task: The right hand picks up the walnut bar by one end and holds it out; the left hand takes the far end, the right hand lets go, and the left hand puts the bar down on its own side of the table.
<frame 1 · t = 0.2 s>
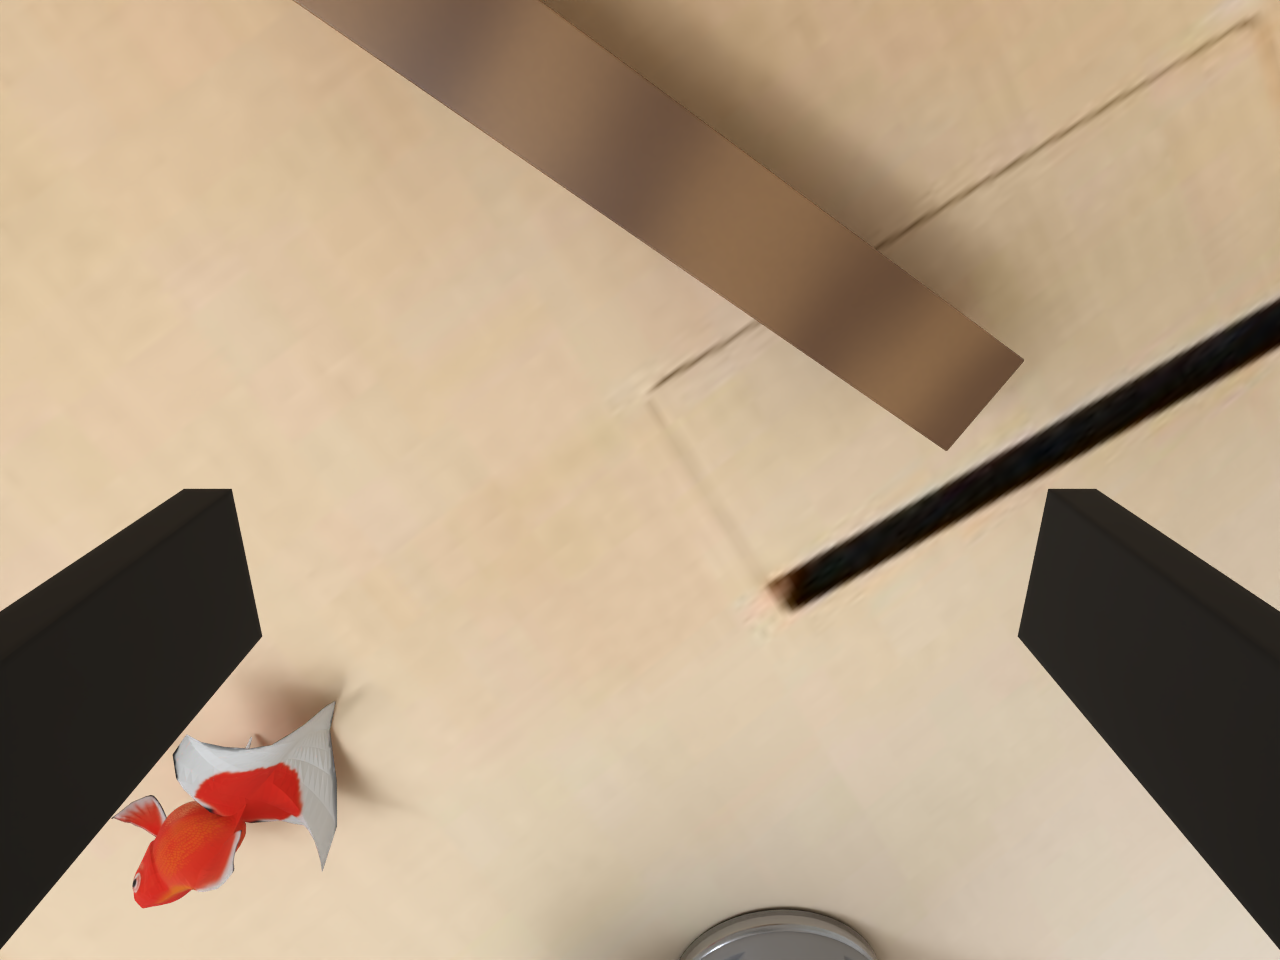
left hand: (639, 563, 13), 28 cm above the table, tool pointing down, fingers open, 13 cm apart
bar: (641, 165, 36), on the table
fish: (265, 752, 49), on the table
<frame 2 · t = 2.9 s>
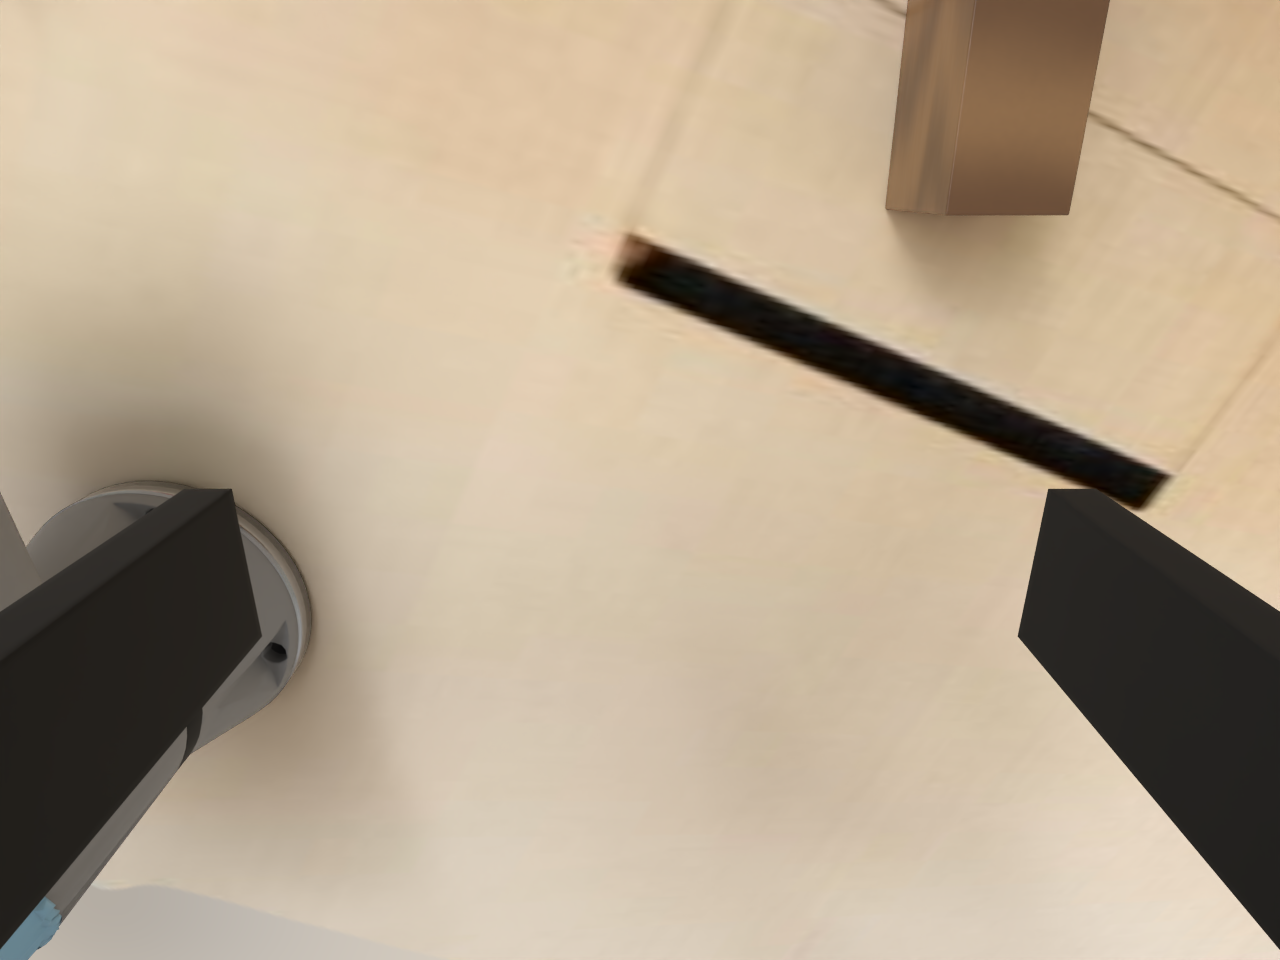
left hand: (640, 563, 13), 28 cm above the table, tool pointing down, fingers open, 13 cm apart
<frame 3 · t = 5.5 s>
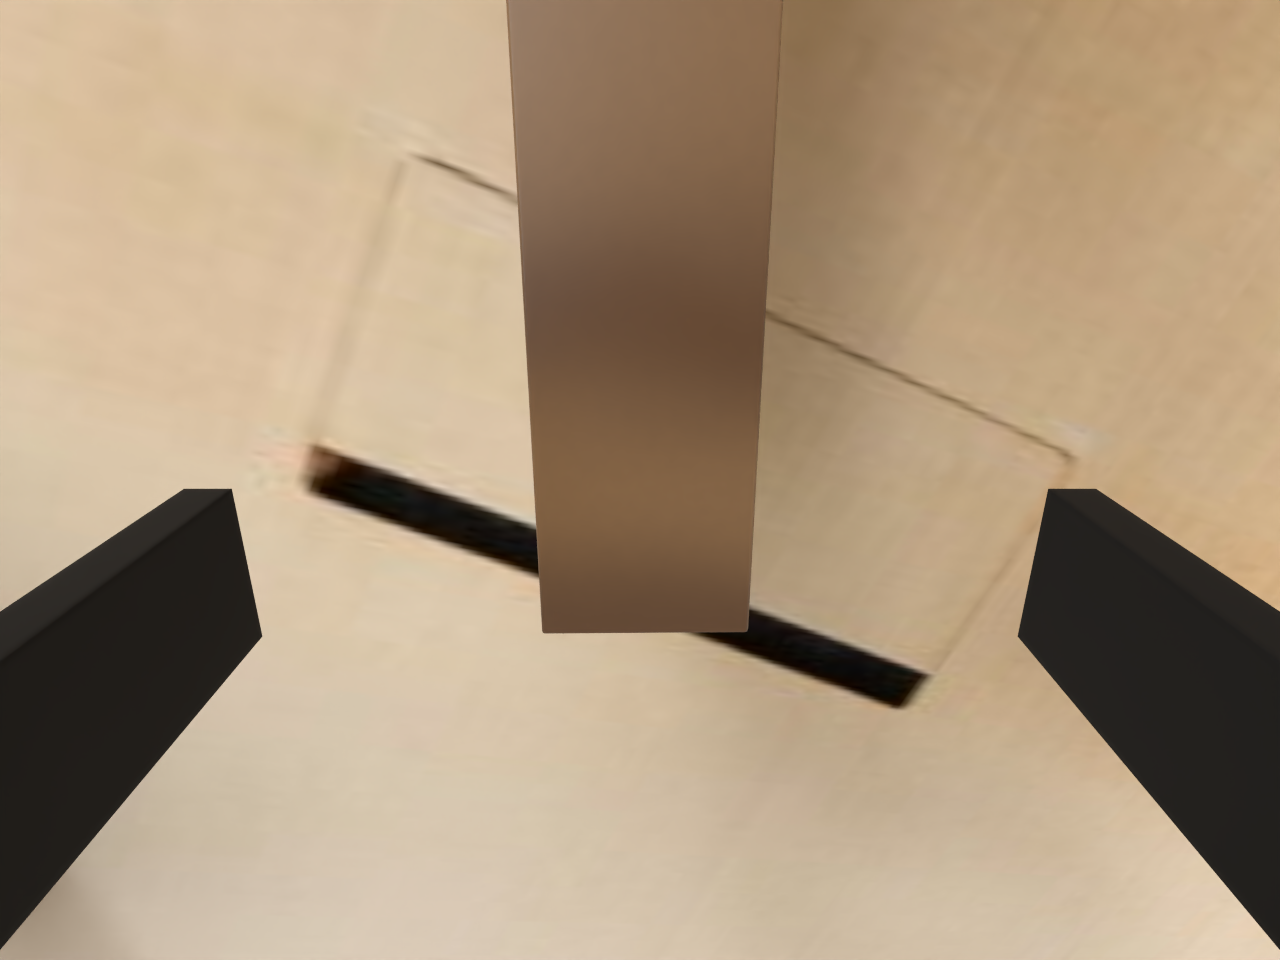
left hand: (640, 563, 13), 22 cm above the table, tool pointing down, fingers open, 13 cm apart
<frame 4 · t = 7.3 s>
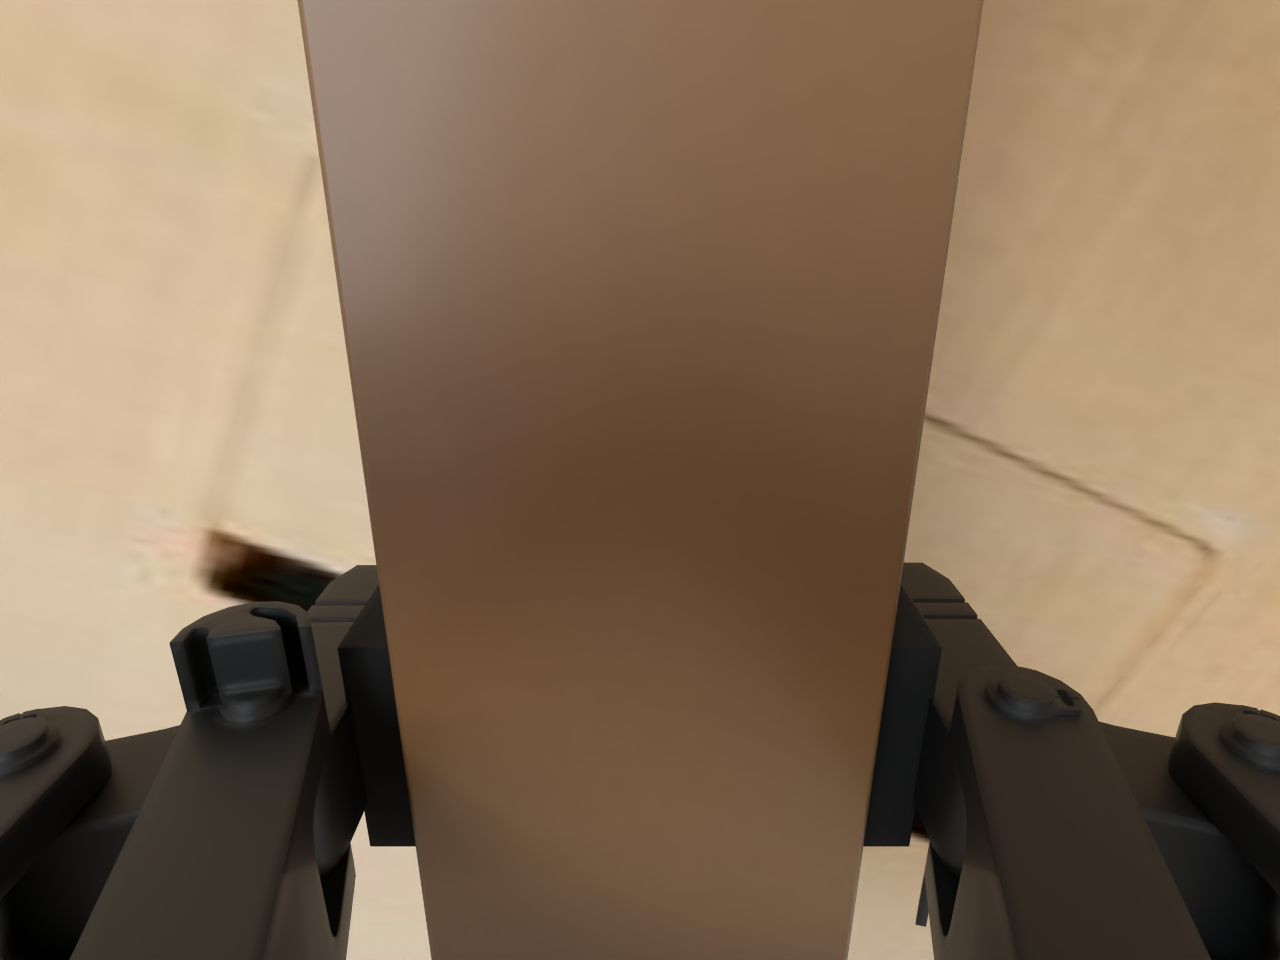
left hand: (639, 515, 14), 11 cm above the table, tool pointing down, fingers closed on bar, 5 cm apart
when the right hand's fingers open (11 cm above the table, at t = 8.1 s): bar stays where it is, held by the left hand.
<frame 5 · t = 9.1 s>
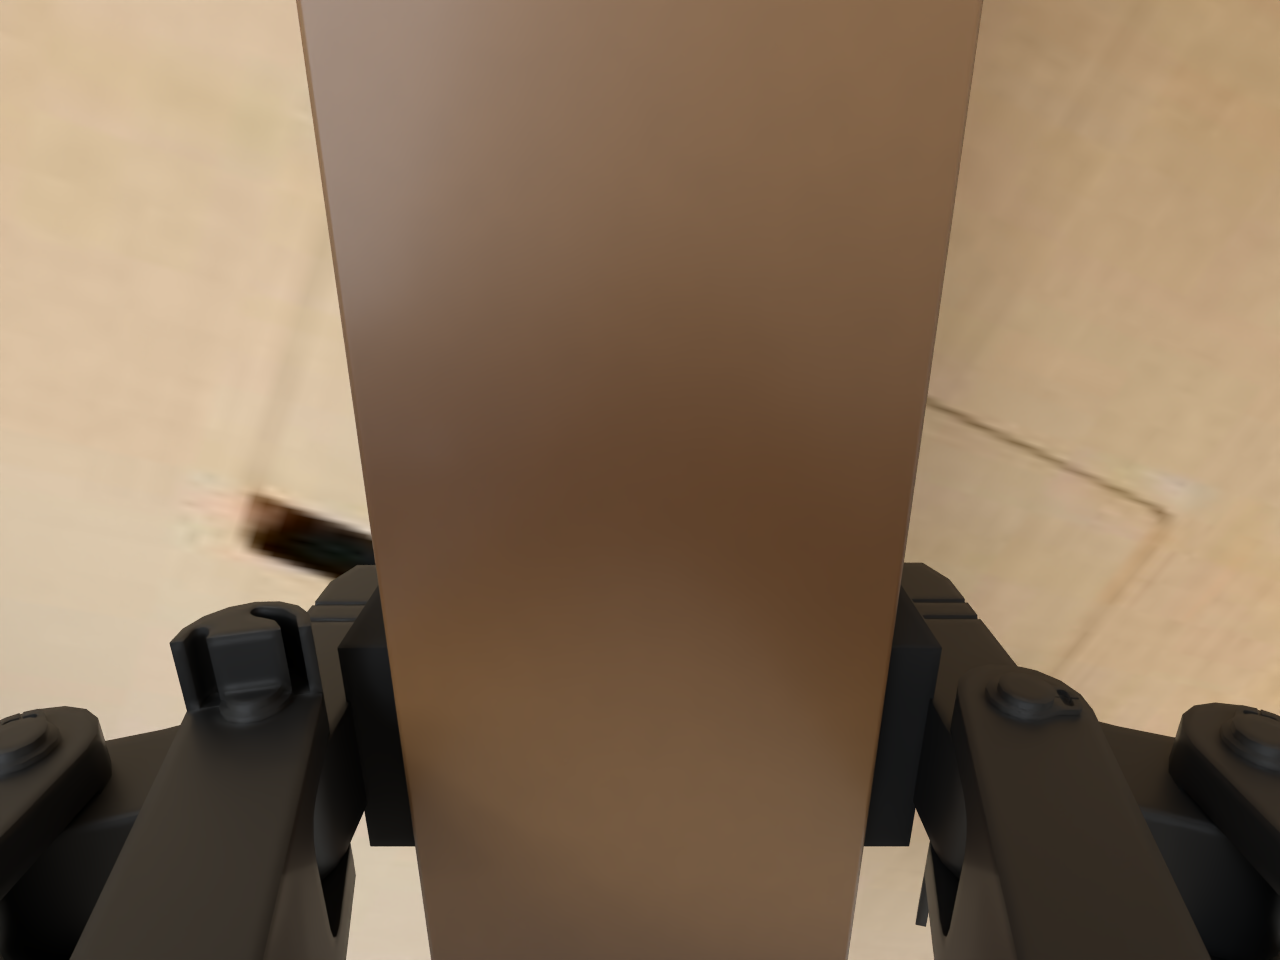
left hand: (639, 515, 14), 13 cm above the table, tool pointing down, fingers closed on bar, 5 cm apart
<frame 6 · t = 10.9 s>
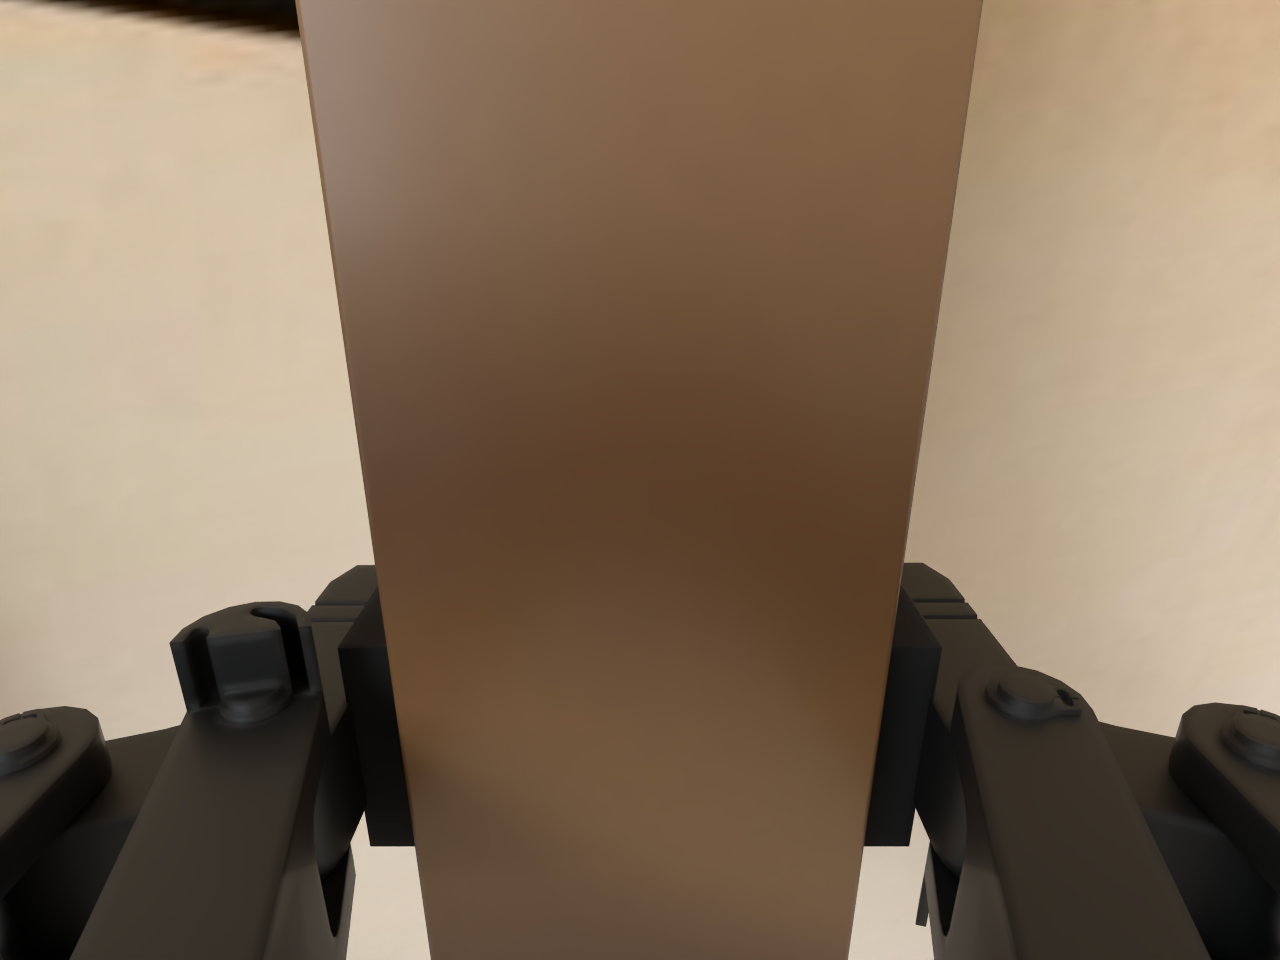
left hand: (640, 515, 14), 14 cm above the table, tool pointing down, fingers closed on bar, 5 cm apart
when the left hand's fingers open (2 cm above the table, at t = 12.4 s): bar drops 2 cm, on the table.
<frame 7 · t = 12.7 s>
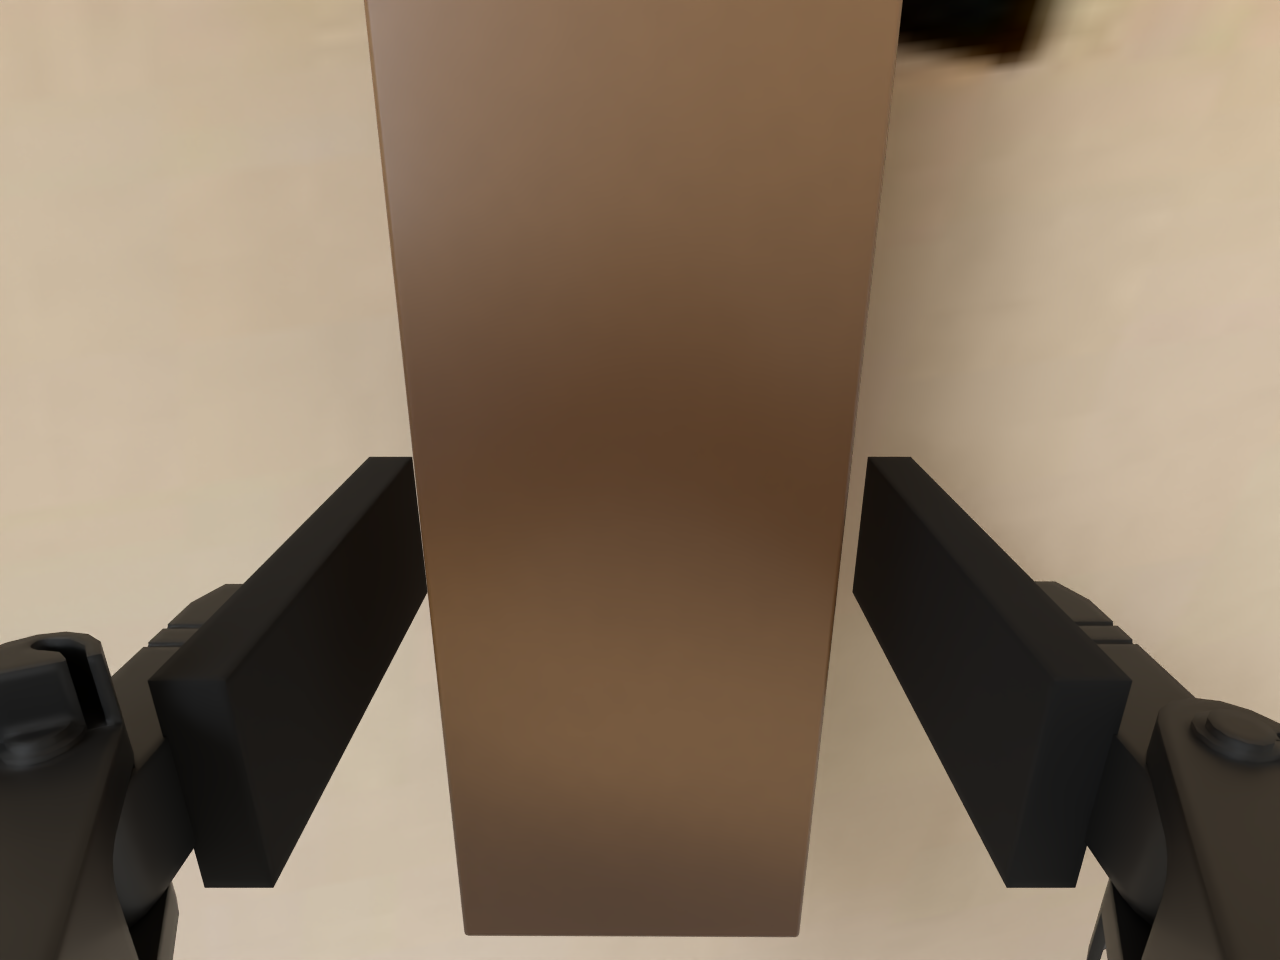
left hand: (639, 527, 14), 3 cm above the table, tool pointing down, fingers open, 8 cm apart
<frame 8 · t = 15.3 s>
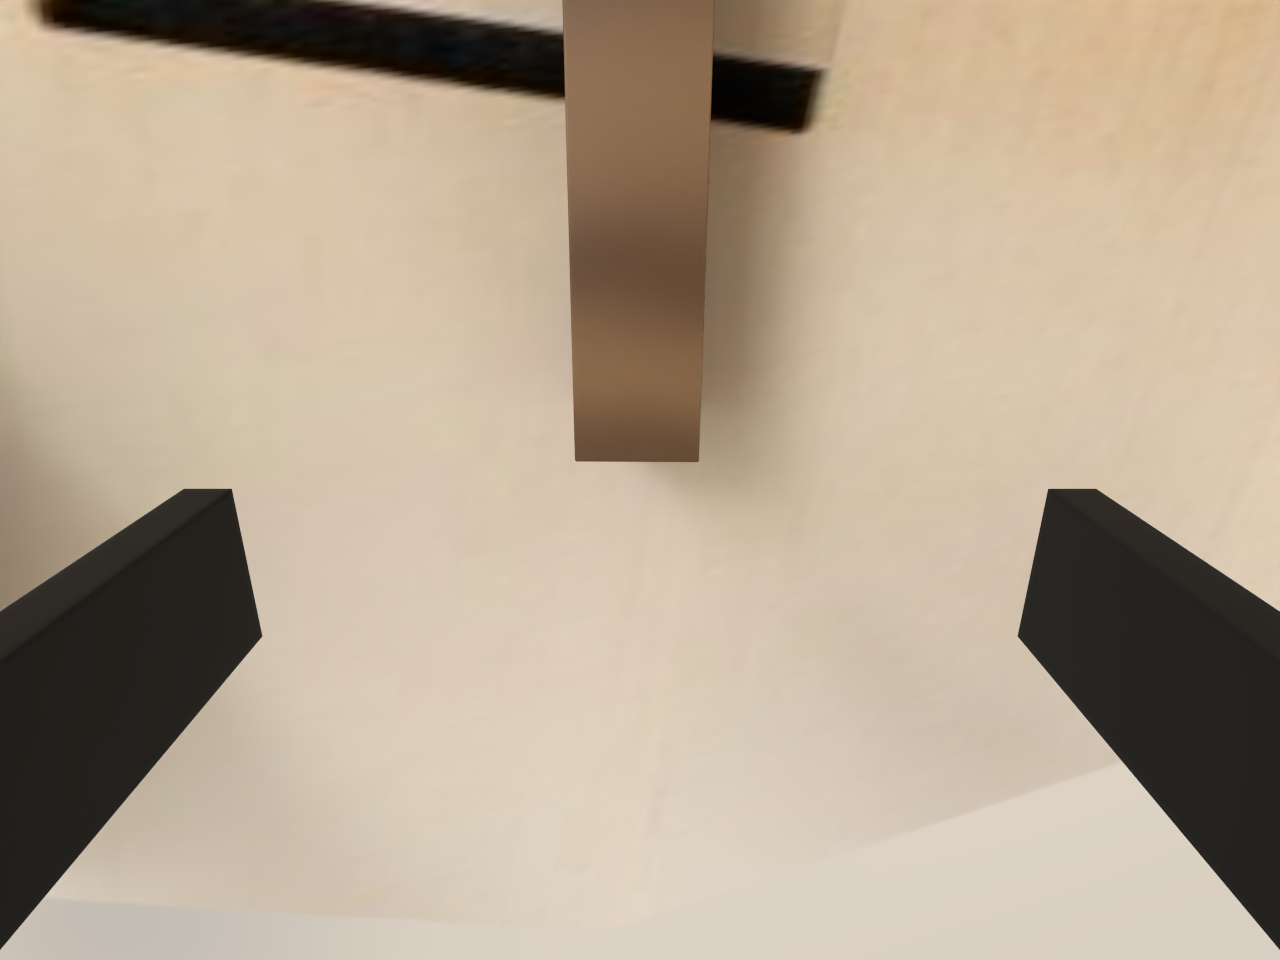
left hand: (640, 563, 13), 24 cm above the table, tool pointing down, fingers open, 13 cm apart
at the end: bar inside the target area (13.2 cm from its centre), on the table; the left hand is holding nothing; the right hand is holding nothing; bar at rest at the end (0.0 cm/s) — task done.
